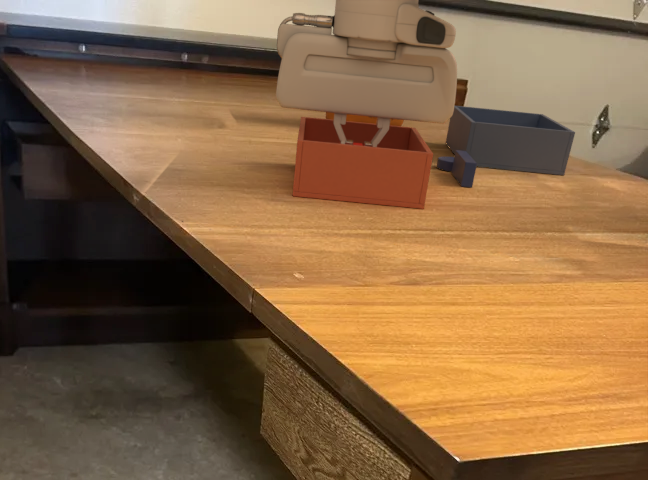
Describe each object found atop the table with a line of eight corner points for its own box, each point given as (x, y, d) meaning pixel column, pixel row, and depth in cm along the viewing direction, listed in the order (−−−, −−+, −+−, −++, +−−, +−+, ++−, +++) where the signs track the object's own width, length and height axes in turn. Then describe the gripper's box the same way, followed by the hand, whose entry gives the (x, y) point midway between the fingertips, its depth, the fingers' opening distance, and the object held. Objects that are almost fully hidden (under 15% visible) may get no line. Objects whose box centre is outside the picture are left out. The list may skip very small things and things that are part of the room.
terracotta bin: (407, 175, 104) (415, 127, 101) (423, 209, 88) (433, 153, 85) (296, 164, 104) (301, 116, 101) (292, 196, 88) (297, 140, 85)
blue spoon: (485, 188, 100) (490, 164, 99) (447, 185, 100) (452, 160, 99) (467, 167, 112) (472, 145, 111) (434, 164, 112) (438, 142, 111)
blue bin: (534, 152, 130) (543, 114, 127) (564, 175, 114) (575, 132, 111) (445, 143, 130) (452, 105, 127) (463, 165, 114) (471, 121, 111)
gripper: (277, 11, 86) (267, 153, 94) (471, 30, 86) (445, 171, 94) (280, 10, 91) (270, 145, 99) (462, 28, 91) (438, 161, 99)
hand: (356, 158), depth 96 cm, fingers closed
